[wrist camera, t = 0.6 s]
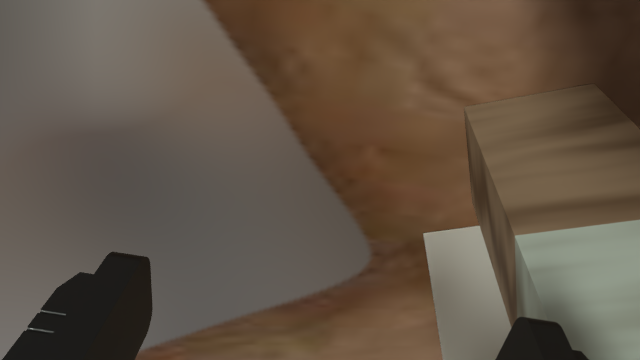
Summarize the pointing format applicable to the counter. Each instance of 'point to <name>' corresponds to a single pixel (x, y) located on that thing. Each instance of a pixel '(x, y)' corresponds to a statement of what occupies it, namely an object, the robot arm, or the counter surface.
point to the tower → (562, 213)
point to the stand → (465, 295)
